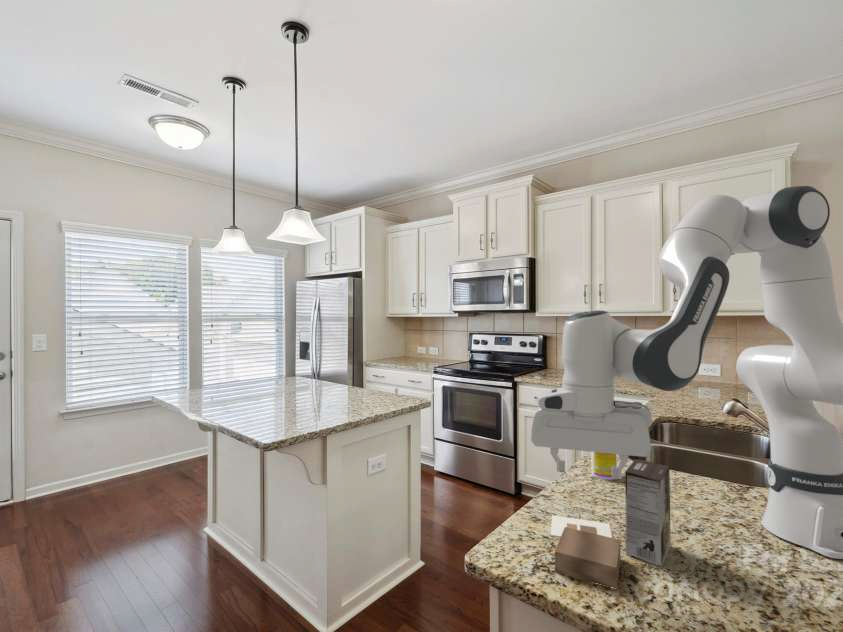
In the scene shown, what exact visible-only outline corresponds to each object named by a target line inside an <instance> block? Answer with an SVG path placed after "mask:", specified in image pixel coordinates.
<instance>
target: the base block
mask: <svg viewBox="0 0 843 632" xmlns="http://www.w3.org/2000/svg"><path fill="white" fill-rule="evenodd" d="M620 565H621V539H617V538H613V537H612V538H610V537H606V536H602V535H597V534H593V533H589V532H585V531H580V530H576V529H572V528H568V527H565V528H564V531H563V533H562V535H561V537H559V540H558V543H557V545H556V548H555V550H554V573H557V574H561V575H563V576H567V577H570V578H574V577H575V578H574V579H577V578H578V579H577V580H581V581H584V580H585V582H587V581H589V582H588V583H591V582H594V583H598V584H602V585H605V586H609V587H613V588H616V589H617V590H618V583H619V575H618V574H619V573H620V567H621V566H620ZM617 582H618V583H617ZM594 583H593V584H594ZM598 584H597V585H598ZM605 586H604V587H605Z"/></svg>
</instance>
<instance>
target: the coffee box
mask: <svg viewBox="0 0 843 632" xmlns="http://www.w3.org/2000/svg"><path fill="white" fill-rule="evenodd" d="M624 474H625V479H624V482H625V483H624V484H625V487H624V488H625V491H624V492H625V555H626V556H628V555H630V556H629V557H631V556H634V557H637V558H640V559H643V560H646V561H648V562H647V563H649V562H651V563H650V564H652V563H654V564H653V565H655V564H657V565H660V566H659V567H663V565H664V563H665V562H666V561H665V560H666V558H667V555H668V553H669V551H670V548H671V492H670V491H671V487H670V486H671V483H670V481H671V480H670V475H671V474H670V465H667V464H666V465H665V464H660V463H657V462H653V461H648V460H643V459H638V458H635V459H634V460H633V461H632V463H631V464H630V465H629V466H628V468H627V469H626V470H625V472H624ZM634 557H633V558H634ZM637 558H636V559H637ZM640 559H639V560H640ZM643 560H642V561H643ZM646 561H645V562H646ZM657 565H656V566H657Z"/></svg>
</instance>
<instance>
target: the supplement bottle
mask: <svg viewBox="0 0 843 632" xmlns="http://www.w3.org/2000/svg"><path fill="white" fill-rule="evenodd" d="M616 465H617V454H610V453H600V452H590V472H591V476H592V477H594V478H596V479H600V480H605V481H612V480H616V479H615V478H612V475H611V472H612V470H611V466H616Z"/></svg>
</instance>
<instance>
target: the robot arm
mask: <svg viewBox="0 0 843 632" xmlns="http://www.w3.org/2000/svg"><path fill="white" fill-rule="evenodd" d="M830 210H831V208H830V204H829V201H828V199H827V198H826V196H825V195H824V194H823V192H821V191H819V190H818V189H817V188H815V187H814V186H810V185H797V186H789V187H784V188H781V189H780V190H775V191H770V192H769V191H768V192H766V193H761V194H757V195H754V196H753V195H752V196H750V197H747V198H746V199H743V200H739V199H737V198H734V197H733V196H730V195H725V194H714V195H710V196H706V197H704V198H702V199H700V200H699V201H698V202H697V203H696V204H694V206H692V207H691V209H690V210H688V212H687V213H686V214H685V215H684V217H682V218H681V220H680V221H679V222H678V223H677V225H676V227H674V229H673V231H672V232H671V233H670V235H669V236H668V238H666V241H664V244H663V246H662V247H661V249H660V253H659V255H658V259H657V261H658V266H659V267H658V268H659V269H660V272H661V273H662V275H663V276H664V278H666V279H667V280H668V281H669V282H670V283H671V284H672V285H674V286H676V287H678V288H680V290H681V289H682V290H683V291H682V293H681V296H680V297H679V299H678V302H677V303H676V306H675V308H674V311H673V313H672V315H671V317H670V319H669V321H667V323H665V324H664V325H662V326H660V327H658V328H655V329H642V328H641V329H639V328H632V327H631V326H628V325H625V324H623V323H621V322H619V321H618V320H617V319H615V318H613V317H612V315H610V313H609V312H608V311H606V310H590V311H583V312H578V313H575V314H571V315H569V317H568V318H567V319H566V320H565V322H564V326H563V330H562V341H561V360H562V364H563V368H564V369H563V371H564V373H563V375H562V379H561V380H562V381H561V386H562V387H561V386H560V387H557V388H553V389H550V390H546V391H542V392H541V393H540V394H539V395H538V397H537V405H538V406H537V408H536V409H535V412H534V415H533V418H532V423H531V429H530V431H531V432H530V442H531V444H533V446H535V447H537V448H539V447H540V448H549V449H550V455H551V457H552V459H553V460H554V462H555V463H556V472H557V473H564V474H565V473H566V460H562V459H560V456H559V455H558V454H559V449H561V450H562V449H563V450H569V451H570V450H571V451H579V452H580V451H583V452H590V453H591V452H600V453H610V454H616V455H618V459H619V461H618V462H617V463H616V466H611V470H612V472H611V475H612V478H615V479H614V480H621V479H622V470H624V468H625V467H626V465H627V463H628V462H629V456H630V457H631V456H632V457H640V458H641V457H642V458H646V457H647V456H649V454H650V453H651V452H652V446H651V445H652V444H651V438H650V430H649V427H650V426H651V425H652V421H653V420H652V416H653V415H652V410H651V409H650V408H649V407H648V406H647V405H645V404H643V403H642V402H640V401H624V400H615V384H614V383H615V382H614V380H615V378H619V379H621V380H622V379H623V380H626V381H630V382H635V383H639V384H644V385H646V386H650V387H652V388H656V389H657V390H661V391H664V392H665V391H666V392H673V391H674V392H675V391H678V390H679V391H680V390H681V389H683V388H685V387H686V386H688V385H689V384H690V383H691V382H692V381H693V380H694V379H695V377H696V376H697V375H698V373H699V370H700V366H701V364H702V357H703V351H704V347H705V345H706V341H707V339H708V336H709V334H710V332H711V329H712V326H713V324H714V322H715V320H716V317H717V315H718V312H719V310H720V307H721V306H722V303H723V301H724V298H725V297H726V293H727V290H728V286H729V283H730V270H729V268H728V266H727V263H728V262H729V260H730V258H731V256H733V255H736V254H749V253H751V254H752V253H758V255H759V256H760V267H759V270H760V271H759V272H760V276H759V277H760V285H761V286H760V287H761V294H762V295H761V296H762V305H763V306H762V307H763V308H762V309H763V314H764V318H765V319H766V321H767V322H768V323H769V324H770V325H772V326H774V327H776V328H778V329H779V330H781V331H782V332H784V333H785V335H786V336H787V337H788V338H789V339H790V341H791V343H792V345H787V344H786V345H785V344H784V345H783V344H765V345H756V346H751V347H747V348H745V349H743V351H741V353H740V354H739V355H738V357H737V360H736V362H735V363H736V364H735V371H736V374H737V376H738V378H739V380H740V382H741V383H742V384H744V385H745V386H746V387H747V388H748V389H749V390H750V391H751V392H752V393H753V394H754V396H755V397H756V399H757V401H758V402H759V403H760V405H761V408H762V409H763V411H764V414H765V417H766V419H767V423H768V424H767V425H768V429H769V445H770V458H768V462H767V470H766V471H767V474H766V475H767V482H768V483H767V484H768V486H769V492H768V496H767V503H766V507H765V511H764V514H763V516H762V519H761V520H760V522H761V524H762V527H764V529H765V530H767V531H768V532H769V533H771V534H773V535H774V536H777V537H779V538H781V539H782V540H785V541H788V542H789V543H792V544H795V545H799V546H801V547H804V548H807V549H810V550H812V551H814V552H816V553H818V554H821V555H823V556H825V557H828V558H831V559H839V560H843V435H842V433H841V431H840V429H839V428H838V427H837V426H835V425H834V424H833V423H832V422H830V421H829V420H827V418H824V416H822V414H820V413H819V411H818V410H817V408H816V407H815V404H814V402H819V403H826V404H831V405H838V406H843V321H842V319H841V317H840V313H839V310H838V307H837V302H836V300H837V299H836V295H835V286H834V277H833V269H832V263H831V258H830V255H829V254H830V253H829V252H828V247H827V244H826V242H825V239H824V237H823V235H822V234H823V232H824V231H825V229H826V227H827V225H828V224H829V220H830V215H831V211H830ZM813 401H814V402H813Z"/></svg>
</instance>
